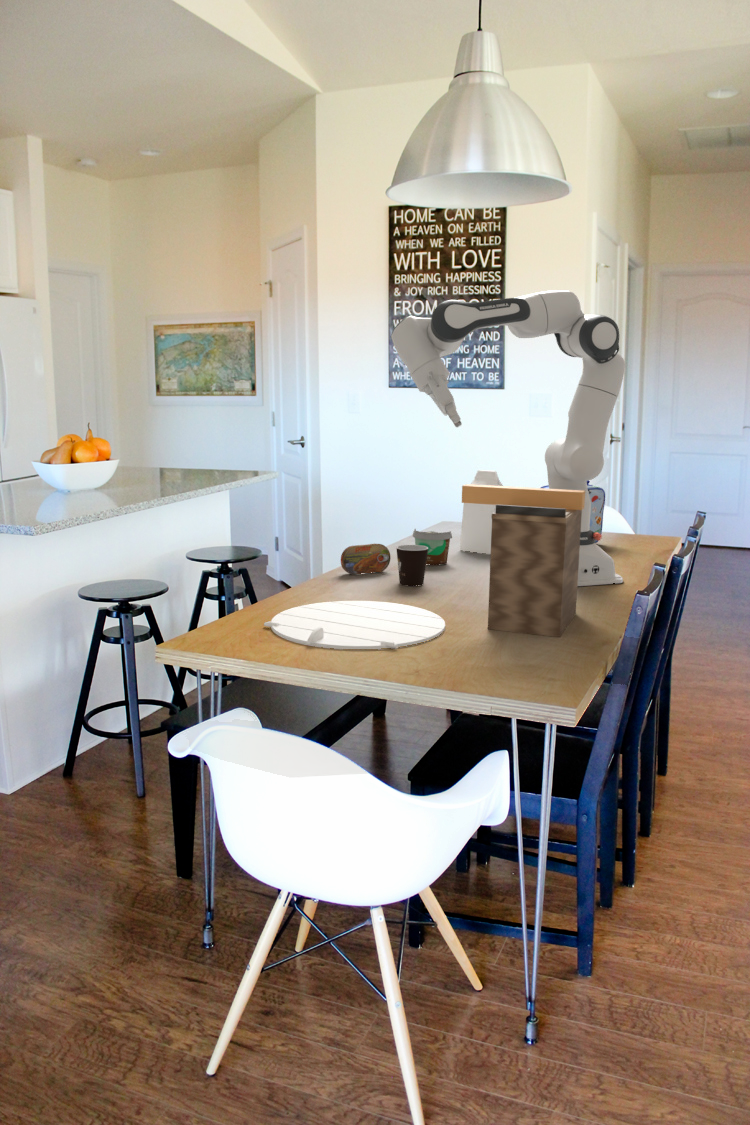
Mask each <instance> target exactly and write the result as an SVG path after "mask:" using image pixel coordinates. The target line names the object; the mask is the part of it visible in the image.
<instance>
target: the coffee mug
mask: <svg viewBox="0 0 750 1125" xmlns="http://www.w3.org/2000/svg"><path fill="white" fill-rule="evenodd" d="M427 554H428V547H426V546H421V545H415V544H404V545H403V544H401V545H397V546H396V556H397V557H396V560H397V569H398V578H399V585H400V584H402V585H401V586H403V585H408V586H407V587H419V586H418V585H421V586H423V585H424V581H425V574H426V568H427V565H426V561H427ZM422 584H423V585H422ZM416 585H417V586H416Z"/></svg>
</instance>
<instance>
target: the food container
mask: <svg viewBox="0 0 750 1125" xmlns="http://www.w3.org/2000/svg"><path fill="white" fill-rule="evenodd" d="M416 529H417V528H414V530H413V532H412V538H414V543H415V544H414V545H421V546H426V547H428V554H427V561H426V564H430V565H429V566H440V565H439V564H444V565H446V564H445V563H447V564H448V558H449V557H448V556H449V549H450V542H451V539H453V535H452V531H450V530H449V531H446V532H436V531H419V530H416Z"/></svg>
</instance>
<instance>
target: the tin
mask: <svg viewBox="0 0 750 1125" xmlns="http://www.w3.org/2000/svg"><path fill="white" fill-rule="evenodd" d="M340 555H341V556H340V565H341V568H342V569H343V571H344V572H346V573H348V574H349V575H353V576H355V575H354V574H361V573H371V572H372V573H371V574H374V573H373V572H380V573H383V572H384V571H385V570H387V568H388V567H389V566H390V562H391V553H390V550H389V549H388V547H387V546H385V545H384V544H382V543H368V544H358V545H350V546H348V547H346V548H344V550H343V551H342V553H341V554H340Z"/></svg>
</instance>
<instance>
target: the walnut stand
mask: <svg viewBox="0 0 750 1125" xmlns="http://www.w3.org/2000/svg"><path fill="white" fill-rule="evenodd" d="M581 516H582V510H571V509H563V508H546V507H530V506H514V505H498V504H497V505H496V512H494V513H492V517H491V518H492V531H491V555H490V558H489V559H490V561H489V586H488V589H489V590H488V612H487V630H493V631H501V632H512V633H519V634H527V635H528V634H530V635H537V636H544V637H545V636H546V637H553V638H554V637H555V638H561V636H562V635H563V633H564V631H566V628H567V627H568V626H569V624H570V623H571V622H572V621H573V618H574V617H575V616H576V614H577V600H578V599H577V598H578V586H577V584H578V567H579V550H580V533H581Z"/></svg>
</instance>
